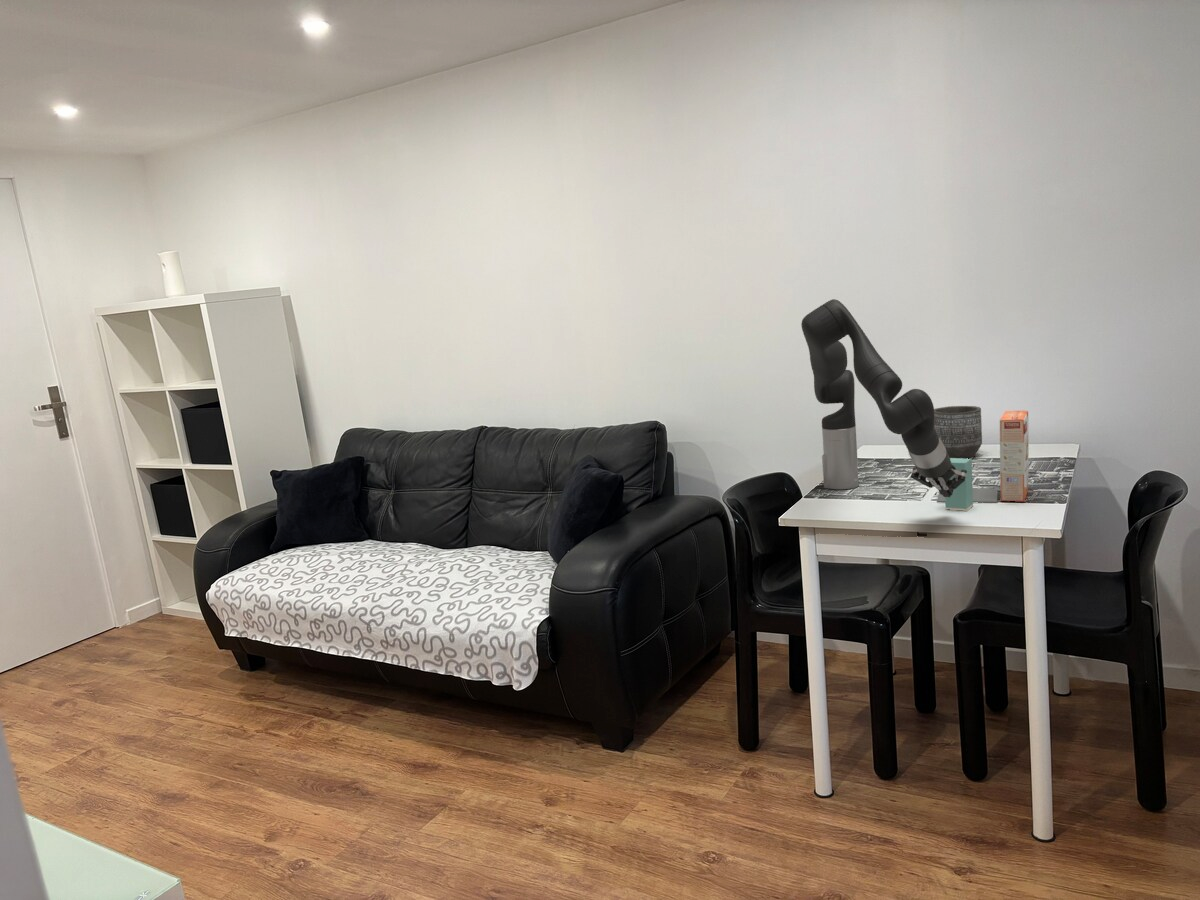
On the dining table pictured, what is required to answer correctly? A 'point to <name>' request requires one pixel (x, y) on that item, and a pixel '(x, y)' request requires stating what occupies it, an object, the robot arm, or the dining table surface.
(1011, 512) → the dining table surface
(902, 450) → the dining table surface
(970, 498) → the teal block
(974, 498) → the grey mat
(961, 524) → the dining table surface
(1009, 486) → the cracker box
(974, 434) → the planter
